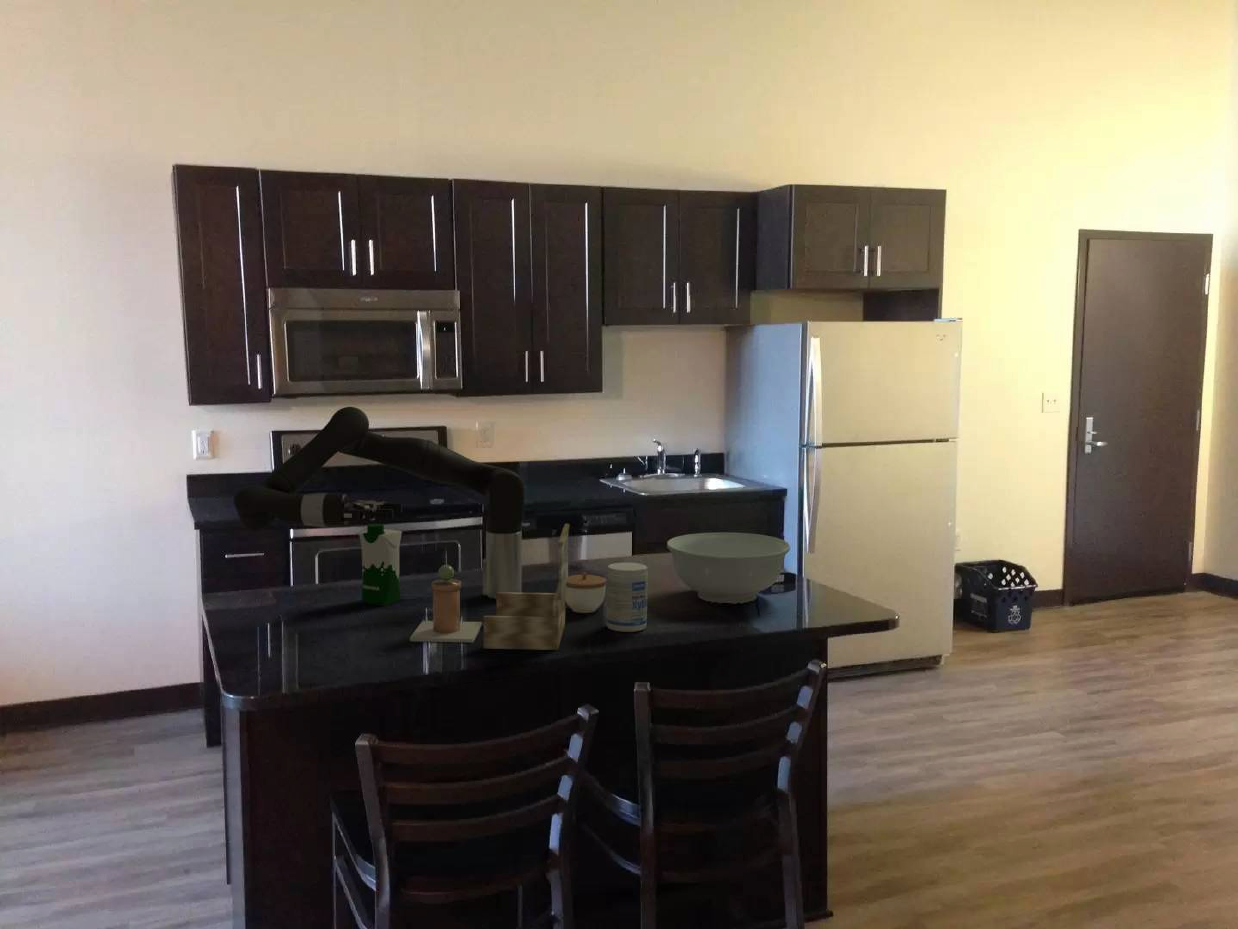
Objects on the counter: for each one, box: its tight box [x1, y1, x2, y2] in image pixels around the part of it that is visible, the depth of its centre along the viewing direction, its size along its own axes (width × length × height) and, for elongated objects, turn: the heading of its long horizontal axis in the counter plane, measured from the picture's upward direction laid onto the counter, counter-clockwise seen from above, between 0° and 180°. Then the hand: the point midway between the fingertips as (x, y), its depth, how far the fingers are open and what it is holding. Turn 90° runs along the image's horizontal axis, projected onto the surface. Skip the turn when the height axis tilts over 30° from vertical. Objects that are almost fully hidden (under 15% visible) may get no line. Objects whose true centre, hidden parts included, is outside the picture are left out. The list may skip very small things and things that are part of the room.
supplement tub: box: [605, 562, 649, 633], centre depth 248 cm, size 10×10×15 cm
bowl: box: [666, 532, 791, 605], centre depth 278 cm, size 32×32×15 cm
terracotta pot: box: [431, 564, 462, 633], centre depth 241 cm, size 7×7×15 cm
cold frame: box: [483, 523, 570, 651], centre depth 240 cm, size 17×22×24 cm
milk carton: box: [358, 523, 403, 607], centre depth 268 cm, size 9×9×20 cm
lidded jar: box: [565, 572, 607, 614], centre depth 263 cm, size 11×11×9 cm
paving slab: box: [409, 620, 483, 643], centre depth 241 cm, size 14×14×1 cm
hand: (397, 511), depth 238 cm, fingers open, 8 cm apart
